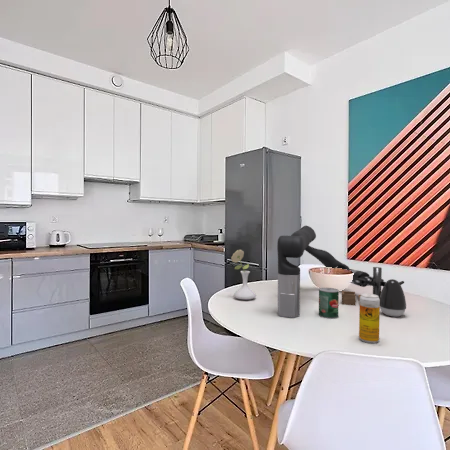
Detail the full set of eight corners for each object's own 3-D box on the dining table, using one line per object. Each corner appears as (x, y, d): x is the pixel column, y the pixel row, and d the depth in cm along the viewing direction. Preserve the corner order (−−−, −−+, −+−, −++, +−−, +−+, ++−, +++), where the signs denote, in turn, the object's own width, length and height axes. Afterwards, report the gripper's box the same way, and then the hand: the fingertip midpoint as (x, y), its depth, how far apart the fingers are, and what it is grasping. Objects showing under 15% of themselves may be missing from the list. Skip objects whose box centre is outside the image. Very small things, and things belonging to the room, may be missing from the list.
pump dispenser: (412, 318, 129) (413, 281, 129) (389, 319, 127) (390, 281, 127) (395, 311, 139) (395, 276, 139) (373, 312, 137) (374, 277, 137)
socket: (355, 305, 147) (355, 295, 147) (342, 304, 149) (342, 293, 149) (354, 301, 154) (354, 291, 154) (341, 300, 156) (341, 290, 156)
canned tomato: (338, 319, 126) (338, 292, 126) (318, 317, 129) (318, 290, 128) (338, 314, 133) (338, 288, 133) (319, 312, 136) (319, 287, 136)
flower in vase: (250, 295, 166) (251, 248, 165) (259, 300, 155) (260, 250, 155) (227, 296, 162) (228, 248, 161) (235, 302, 151) (235, 250, 151)
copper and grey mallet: (396, 306, 143) (397, 269, 143) (358, 303, 149) (359, 267, 148) (395, 305, 147) (395, 268, 147) (358, 301, 152) (358, 266, 152)
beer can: (359, 342, 102) (360, 296, 102) (358, 336, 108) (359, 292, 108) (380, 345, 100) (380, 298, 100) (378, 338, 106) (378, 294, 106)
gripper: (346, 271, 160) (367, 276, 143) (370, 270, 163) (394, 276, 146) (346, 285, 160) (367, 293, 143) (370, 284, 163) (394, 292, 146)
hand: (381, 284), depth 145 cm, fingers closed on copper and grey mallet, 3 cm apart
